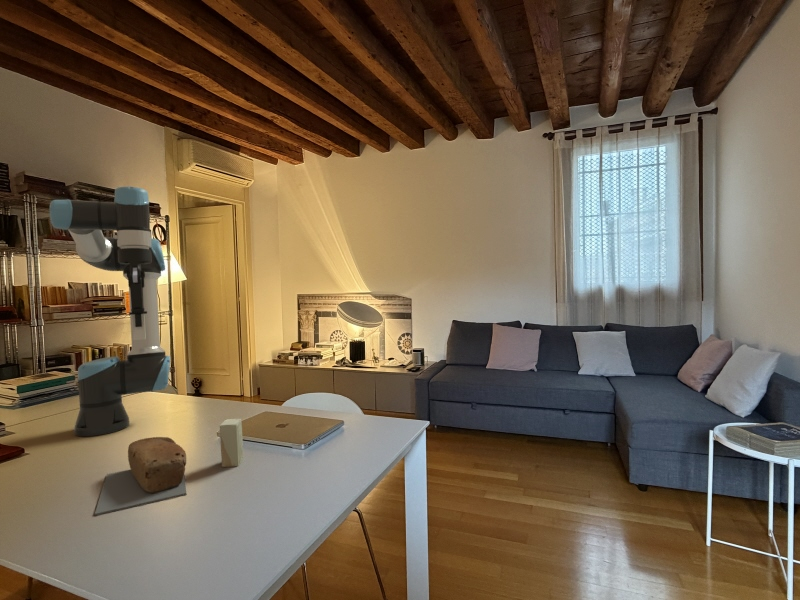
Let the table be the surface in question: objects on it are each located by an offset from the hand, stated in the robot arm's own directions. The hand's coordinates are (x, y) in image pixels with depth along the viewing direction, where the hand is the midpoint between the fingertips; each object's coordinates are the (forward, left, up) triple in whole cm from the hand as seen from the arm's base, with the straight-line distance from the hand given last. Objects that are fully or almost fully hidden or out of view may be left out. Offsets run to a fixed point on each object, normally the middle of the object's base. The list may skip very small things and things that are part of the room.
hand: (139, 339), depth 114 cm
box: (+11, +20, -34) cm, 41 cm away
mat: (+13, 0, -33) cm, 36 cm away
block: (+1, +1, -29) cm, 29 cm away
